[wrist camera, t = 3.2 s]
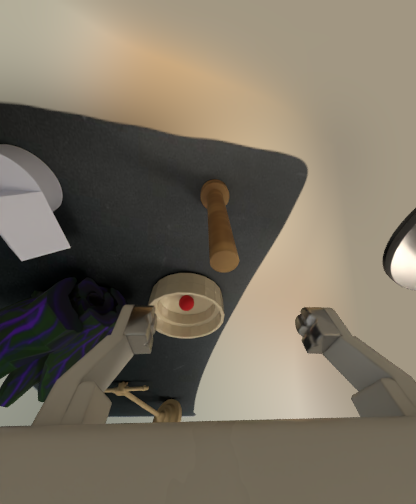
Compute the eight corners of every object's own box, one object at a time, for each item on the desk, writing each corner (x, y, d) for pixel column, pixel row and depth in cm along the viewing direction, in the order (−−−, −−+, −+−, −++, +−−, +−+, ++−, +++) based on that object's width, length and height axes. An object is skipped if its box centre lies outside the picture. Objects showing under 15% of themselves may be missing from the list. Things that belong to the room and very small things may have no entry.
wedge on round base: (82, 236, 30) (43, 146, 22) (56, 261, 24) (-10, 154, 17) (26, 234, 29) (-34, 142, 22) (-14, 260, 24) (-113, 150, 16)
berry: (194, 292, 38) (194, 304, 35) (194, 301, 40) (193, 314, 37) (179, 291, 38) (177, 304, 35) (179, 301, 39) (178, 314, 37)
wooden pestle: (229, 180, 25) (256, 240, 12) (226, 207, 27) (245, 281, 15) (201, 178, 25) (198, 238, 12) (200, 205, 27) (197, 280, 14)
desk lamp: (184, 439, 68) (106, 388, 53) (116, 463, 75) (30, 425, 60) (186, 394, 82) (125, 344, 67) (129, 418, 88) (62, 378, 74)
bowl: (225, 272, 35) (228, 293, 31) (218, 317, 44) (219, 338, 40) (147, 269, 34) (139, 291, 30) (156, 315, 43) (150, 337, 39)
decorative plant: (140, 273, 48) (57, 335, 50) (17, 216, 26) (-116, 327, 29) (162, 352, 36) (52, 427, 38) (-28, 361, 15) (-248, 530, 17)
